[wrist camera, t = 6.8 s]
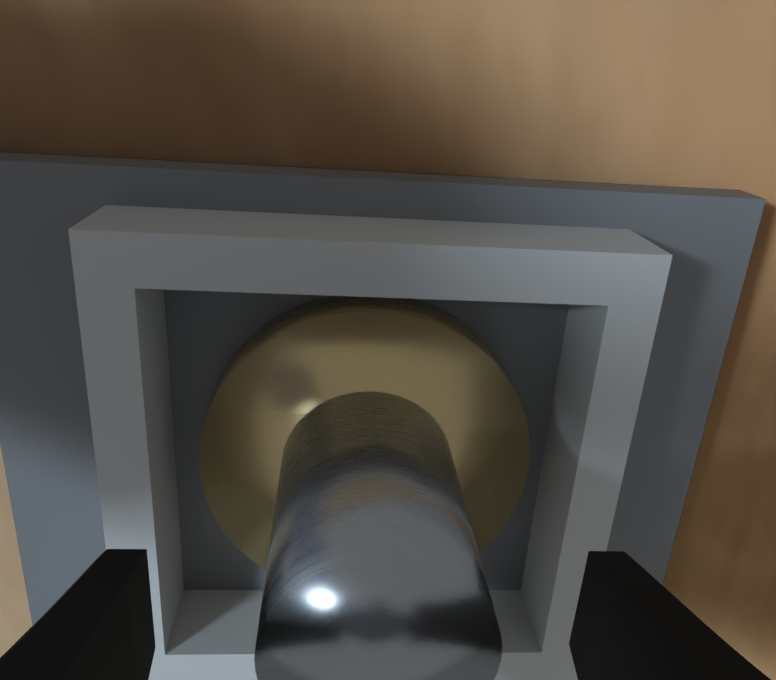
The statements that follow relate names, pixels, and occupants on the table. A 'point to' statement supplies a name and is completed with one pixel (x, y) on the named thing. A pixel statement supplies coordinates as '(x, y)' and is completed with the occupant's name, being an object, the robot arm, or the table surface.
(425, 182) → the carrier
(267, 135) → the table surface
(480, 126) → the table surface
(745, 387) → the table surface
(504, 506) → the flanged metal cylinder
